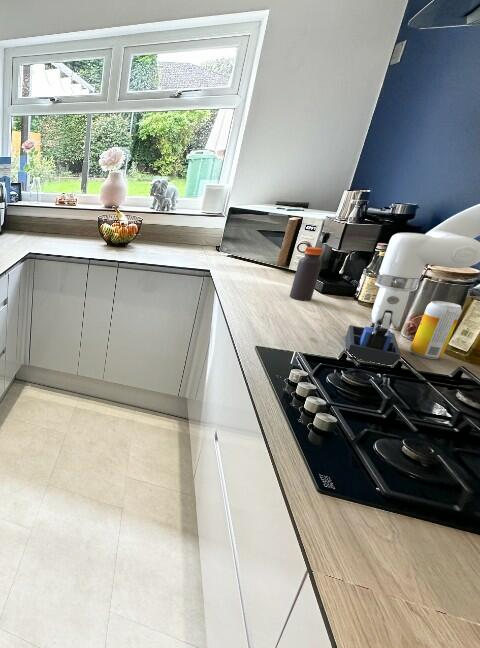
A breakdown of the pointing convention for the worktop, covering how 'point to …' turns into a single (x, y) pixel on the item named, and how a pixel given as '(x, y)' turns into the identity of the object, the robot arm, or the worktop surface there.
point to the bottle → (307, 274)
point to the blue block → (367, 333)
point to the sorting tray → (371, 353)
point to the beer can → (435, 329)
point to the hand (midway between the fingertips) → (373, 344)
